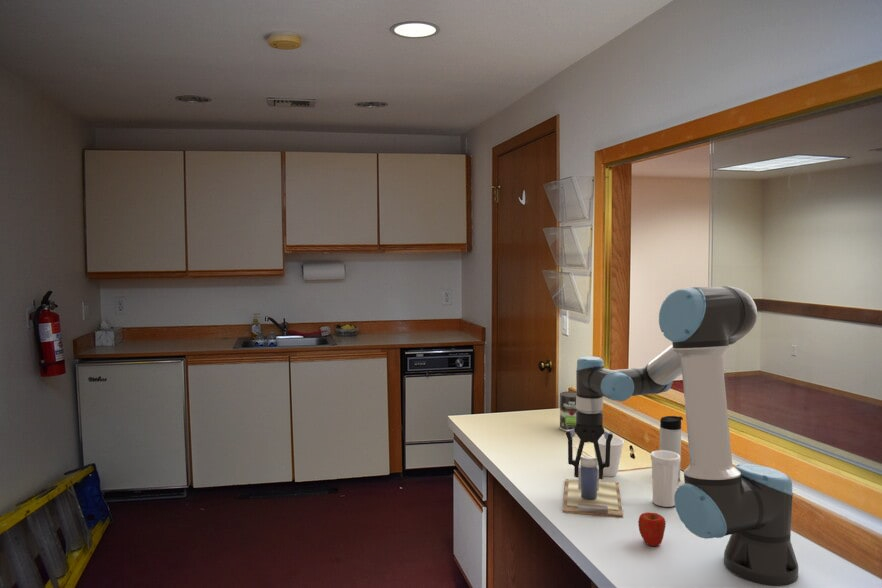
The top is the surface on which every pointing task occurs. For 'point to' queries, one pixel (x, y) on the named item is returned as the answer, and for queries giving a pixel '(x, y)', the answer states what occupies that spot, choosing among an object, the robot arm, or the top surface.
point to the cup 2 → (664, 477)
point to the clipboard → (593, 500)
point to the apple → (652, 528)
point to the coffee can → (568, 410)
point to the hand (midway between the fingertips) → (588, 488)
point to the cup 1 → (611, 454)
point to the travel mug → (671, 435)
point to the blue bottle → (588, 477)
